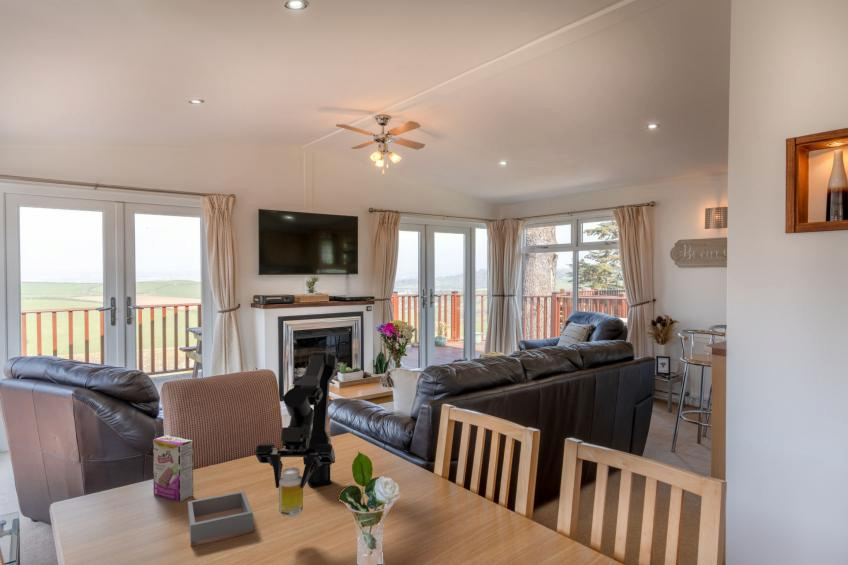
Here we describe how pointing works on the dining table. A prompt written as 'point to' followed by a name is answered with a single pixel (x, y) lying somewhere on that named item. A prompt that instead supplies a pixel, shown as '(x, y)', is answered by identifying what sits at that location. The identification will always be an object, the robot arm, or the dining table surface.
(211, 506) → the walled box
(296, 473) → the supplement bottle
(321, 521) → the dining table surface
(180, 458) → the candy bar box
